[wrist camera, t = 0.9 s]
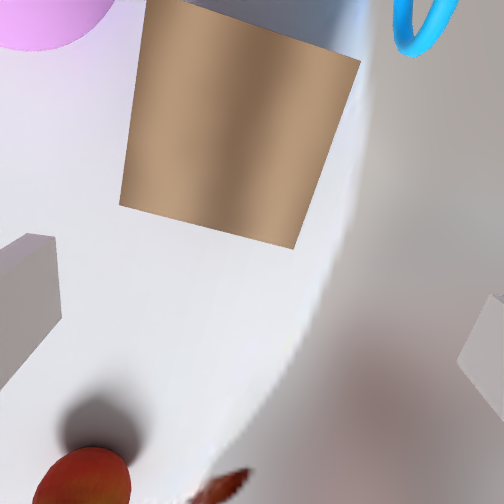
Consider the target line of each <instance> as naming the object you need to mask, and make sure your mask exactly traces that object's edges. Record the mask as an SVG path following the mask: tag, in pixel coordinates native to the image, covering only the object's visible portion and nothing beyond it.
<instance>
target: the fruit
mask: <svg viewBox="0 0 504 504" xmlns="http://www.w3.org/2000/svg"><path fill="white" fill-rule="evenodd" d="M130 494H131V480H130V475H129V471H128V468H127V466H126V464H125V462H124V461H123V460H122V458H121V457H120V456H119V455H117V454H116V453H114V452H112V451H109V450H107V449H104V448H98V447H84V448H80V449H76V450H75V451H73V452H71V453H69V454H67V455H66V456H64V457H62V458H60V459H59V460H58V461H57V462H56V463H55V464H54V465H53V466H51V467H50V469H49V470H48V472H47V473H46V475H45V476H44V478H43V479H42V481H41V482H40V484H39V485H38V487H37V489H36V492H35V495H34V497H33V502H32V504H129V500H130Z"/></svg>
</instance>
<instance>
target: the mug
mask: <svg viewBox="0 0 504 504" xmlns="http://www.w3.org/2000/svg"><path fill="white" fill-rule="evenodd" d="M458 1H459V0H434V2H433V4H432V6H431V8H430V10H429V13H428V15H427V17H426V19H425V21H424V24H423V25H422V27H421V29H420V30H419V31H418V33H417V35H416V36H415V37H414V35H413V26H412V10H413V0H394V5H393V32H394V41H395V43H396V46H397V48H398V50H399V52H400V53H401V54H403V55H406V56H409V57H417V56H420V55H421V54H423V53H424V52H426V51H427V50H429V49H430V48H431V47H432V46H433V44H434V43H435V42H436V41H437V39H438V38H439V36H440V35H441V34H442V32H443V31H444V29H445V28H446V25H447V24H448V22H449V20H450V18H451V16H452V14H453V12H454V10H455V8H456V6H457V3H458Z"/></svg>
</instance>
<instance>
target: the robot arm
mask: <svg viewBox="0 0 504 504" xmlns="http://www.w3.org/2000/svg"><path fill="white" fill-rule="evenodd" d="M61 318H62V314H61V302H60V290H59V278H58V265H57V253H56V241H55V237H52V236H44V235H36V234H29V233H27V234H25V235H24V236H22V237H20V238H19V239H17V240H15V241H14V242H12V243H10V244H9V245H7V246H6V247H4V248H2V249H1V250H0V390H1V389H2V388H3V387H4V386H5V384H6V383H7V382H8V381H9V380H10V378H11V377H12V376H13V375H14V374H15V373H16V371H17V370H18V369H19V368H20V367H21V365H22V364H23V363H24V362H25V361H26V360H27V358H28V357H29V356H30V355H31V354H32V352H33V351H34V350H35V349H36V348H37V347H38V345H39V344H40V343H41V342H42V341H43V339H44V338H45V337H46V336H47V335H48V334H49V332H50V331H51V330H52V329H53V328H54V326H55V325H56V324H57V323H58V322H59V320H60V319H61ZM456 363H457V364H458V366H459V367H460V368H461V369H462V371H463V372H464V373H465V374H466V376H467V377H468V378H469V380H470V381H471V382H472V383H473V385H474V386H475V387H476V388H477V390H478V391H479V392H480V393H481V394H482V396H483V397H484V398H485V400H486V401H487V402H488V403H489V404H490V406H491V407H492V408H493V410H494V411H495V412H496V413H497V414H498V416H499V417H500V418H501V420H502V421H503V422H504V295H499V294H491V293H490V294H489V296H488V298H487V300H486V302H485V304H484V306H483V308H482V310H481V312H480V314H479V316H478V318H477V321H476V322H475V325H474V327H473V329H472V331H471V333H470V335H469V337H468V339H467V341H466V343H465V345H464V347H463V349H462V351H461V353H460V355H459V357H458V359H457V361H456Z"/></svg>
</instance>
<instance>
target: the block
mask: <svg viewBox="0 0 504 504" xmlns="http://www.w3.org/2000/svg"><path fill="white" fill-rule="evenodd" d="M360 63H361V61H359V60H356V59H353V58H350V57H347V56H344V55H341V54H338V53H336V52H333V51H330V50H327V49H324V48H321V47H318V46H315V45H312V44H309V43H306V42H303V41H300V40H297V39H294V38H291V37H288V36H285V35H282V34H279V33H276V32H274V31H271V30H268V29H265V28H262V27H259V26H256V25H253V24H250V23H247V22H244V21H241V20H238V19H235V18H232V17H229V16H226V15H223V14H220V13H217V12H214V11H212V10H209V9H206V8H203V7H200V6H197V5H194V4H191V3H188V2H185V1H182V0H147V2H146V10H145V17H144V24H143V32H142V39H141V47H140V54H139V61H138V69H137V76H136V84H135V91H134V99H133V106H132V113H131V121H130V128H129V136H128V143H127V150H126V158H125V165H124V173H123V180H122V187H121V195H120V202H119V205H121V206H125V207H129V208H133V209H137V210H140V211H144V212H148V213H152V214H156V215H160V216H164V217H168V218H172V219H176V220H180V221H184V222H187V223H191V224H195V225H199V226H203V227H207V228H211V229H215V230H219V231H223V232H227V233H231V234H235V235H238V236H242V237H246V238H250V239H254V240H258V241H262V242H266V243H270V244H274V245H278V246H282V247H285V248H289V249H294V247H295V244H296V241H297V238H298V235H299V233H300V230H301V227H302V224H303V222H304V219H305V216H306V213H307V210H308V208H309V205H310V202H311V199H312V196H313V194H314V191H315V188H316V185H317V183H318V180H319V177H320V174H321V171H322V169H323V166H324V163H325V160H326V157H327V155H328V152H329V149H330V146H331V144H332V141H333V138H334V135H335V132H336V130H337V127H338V124H339V121H340V118H341V116H342V113H343V110H344V107H345V105H346V102H347V99H348V96H349V93H350V91H351V88H352V85H353V82H354V79H355V77H356V74H357V71H358V68H359V65H360Z"/></svg>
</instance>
